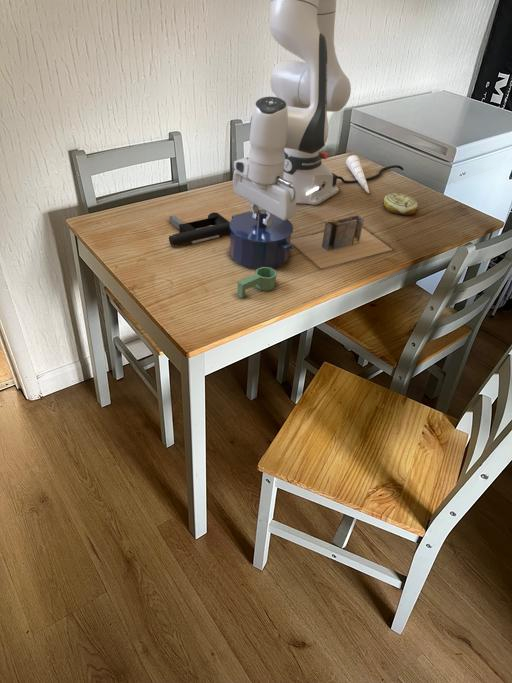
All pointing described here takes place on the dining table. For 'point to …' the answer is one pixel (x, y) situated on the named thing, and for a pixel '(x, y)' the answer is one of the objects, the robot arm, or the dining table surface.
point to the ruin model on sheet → (340, 242)
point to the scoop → (258, 281)
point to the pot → (259, 252)
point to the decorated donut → (400, 204)
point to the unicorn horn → (357, 171)
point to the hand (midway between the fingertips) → (261, 221)
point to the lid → (260, 228)
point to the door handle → (194, 234)
